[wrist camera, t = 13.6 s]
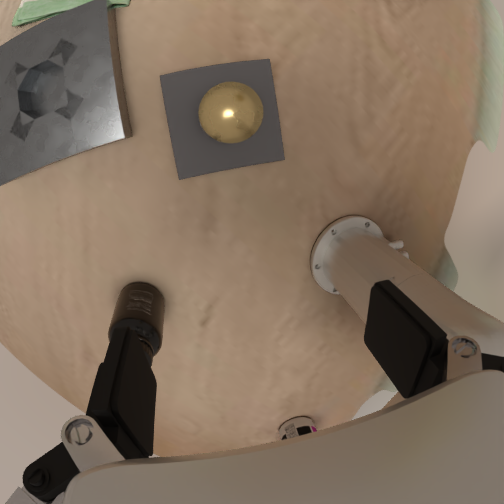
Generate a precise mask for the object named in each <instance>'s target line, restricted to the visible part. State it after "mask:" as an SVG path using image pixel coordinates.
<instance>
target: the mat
mask: <svg viewBox="0 0 504 504" xmlns="http://www.w3.org/2000/svg"><path fill="white" fill-rule="evenodd" d="M160 80H161V86H162V92H163V98H164V104H165V110H166V115H167V121H168V126H169V132H170V137H171V142H172V147H173V152H174V157H175V162H176V167H177V172H178V176H179V180H181V179H185V178H190V177H194V176H199V175H204V174H208V173H213V172H218V171H223V170H228V169H234V168H239V167H244V166H250V165H256V164H261V163H267V162H274V161H280V160H285V158H284V151H283V143H282V136H281V129H280V122H279V115H278V108H277V102H276V95H275V89H274V83H273V76H272V70H271V64H270V59H263V60H251V61H242V62H233V63H226V64H218V65H212V66H206V67H200V68H194V69H189V70H184V71H179V72H174V73H170V74H165V75H161V76H160ZM224 82H239V83H242V84H245V85H247V86H249V87H250V88H252V89H253V90H254V91H255V92H256V93H257V95H258V96H259V98H260V99H261V102H262V105H263V120H262V123H261V125H260V127H259V128H258V130H257V131H256V132H255V134H253V135H252V136H251V137H250V138H248V139H246V140H244V141H242V142H238V143H223V142H220V141H217V140H215V139H213V138H212V137H210V136H209V135H207V134H206V133H205V132H204V131H203V129H202V128H201V126H200V123H199V106H200V102H201V100H202V98H203V96H204V95H205V94H206V93H207V91H209V90H210V89H211V88H212V87H214V86H216V85H218V84H220V83H224Z"/></svg>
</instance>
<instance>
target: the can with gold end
mask: <svg viewBox="0 0 504 504" xmlns="http://www.w3.org/2000/svg"><path fill="white" fill-rule="evenodd" d="M262 120H263V105H262V102H261V99H260V98H259V96H258V95H257V93H256V92H255V91H254V90H253V89H252V88H250V87H249V86H247V85H245V84H242V83H239V82H224V83H220V84H218V85H216V86H214V87H212V88H211V89H210V90H209V91H207V93H206V94H205V95H204V96H203V98H202V100H201V102H200V106H199V123H200V126H201V128H202V129H203V131H204V132H205V133H206V134H207V135H209V136H210V137H212V138H213V139H215V140H217V141H220V142H223V143H238V142H242V141H244V140H246V139H248V138H250V137H251V136H252V135H253V134H255V132H256V131H257V130H258V128H259V127H260V125H261V123H262Z"/></svg>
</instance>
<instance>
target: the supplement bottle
mask: <svg viewBox="0 0 504 504" xmlns="http://www.w3.org/2000/svg"><path fill="white" fill-rule="evenodd" d="M164 307H165V305H164V299H163V297H162V295H161V294H160V292H159V291H158V290H157V289H156V288H154V287H152V286H151V285H148V284H145V283H134V284H130V285H128V286H127V287H125V288H124V289H123V290H122V291H121V293H120V295H119V298H118V301H117V304H116V307H115V310H114V314H113V317H112V320H111V324H110V327H109V332H108V338H109V342H110V340H111V337H112V334H113V331H114V329H115V328H118V327H126V326H129V327H130V328H131V330H135V331H136V333H137V335H138V338H139V340H140V343H141V345H142V348H143V350H144V353H145V355H146V358H147V360H148V362H149V365H150V367H151V366H152V361H153V357H154V356H155V355H156V354H157V353H158V352H159V350H160V348H161V346H162V338H163V322H164Z"/></svg>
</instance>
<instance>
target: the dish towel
mask: <svg viewBox="0 0 504 504" xmlns="http://www.w3.org/2000/svg"><path fill="white" fill-rule="evenodd" d="M90 1H93V0H22V1H21V4H20V6H19V8H18V10H17V12H16V14H15V16H14V18H13V22H12V26H18V25H19V26H21V25H24V24H28V23H32V22H35V21H39V20H43V19H46V18H50V17H53V16H56V15H59V14H61V13H63V12H65V11H68V10H70V9H72V8H75V7H77V6H80V5H82V4H85V3H87V2H90ZM109 1H110V2H111V4H115V5H114V6H113V7H114V8H118V7H126V6H128V5H129V2H130V0H109Z"/></svg>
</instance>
